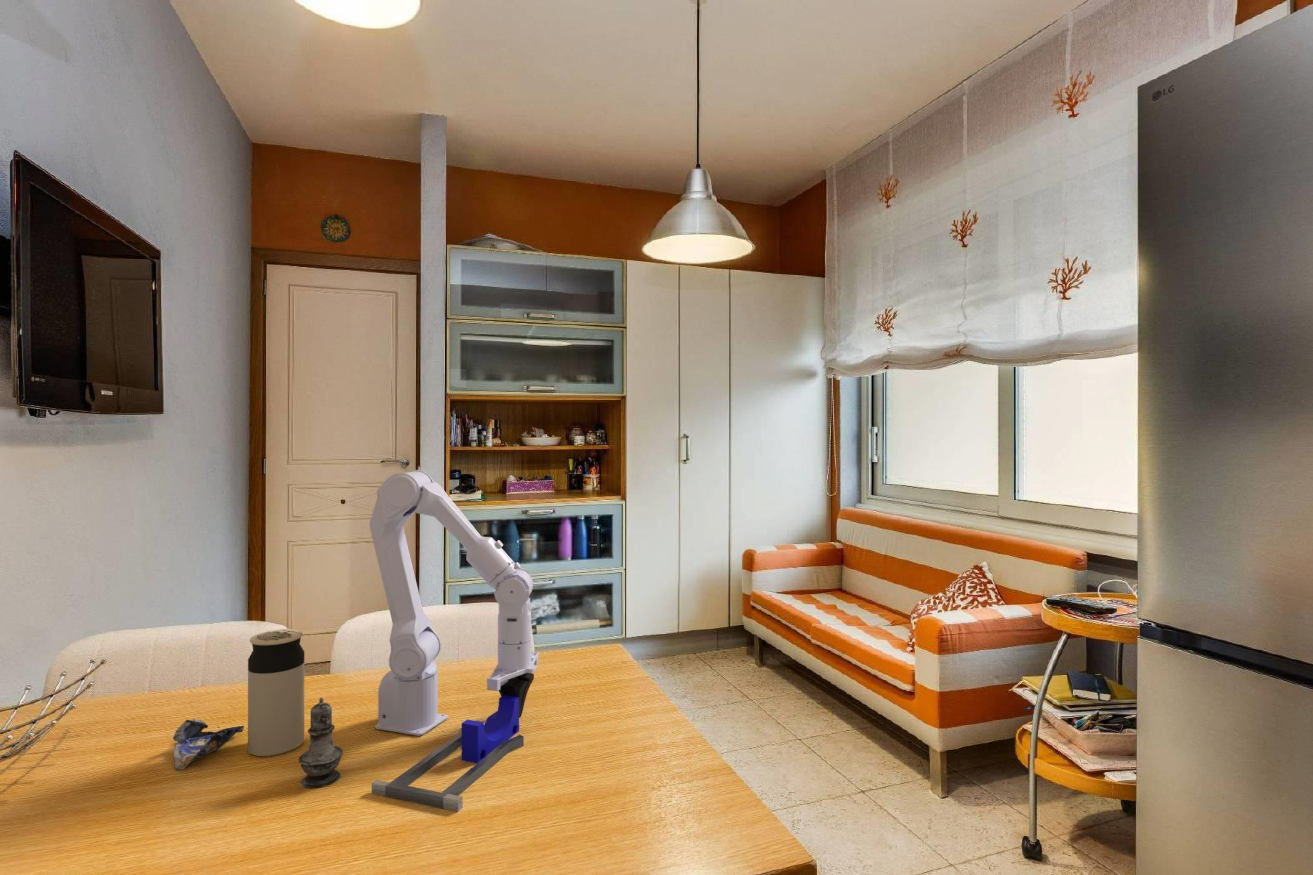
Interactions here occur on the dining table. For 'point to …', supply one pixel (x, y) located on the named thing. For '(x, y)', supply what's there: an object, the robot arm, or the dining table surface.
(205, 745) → the snack package
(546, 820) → the dining table surface
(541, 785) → the dining table surface
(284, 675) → the travel mug
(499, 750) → the rail
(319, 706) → the salt shaker
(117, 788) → the dining table surface
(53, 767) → the dining table surface
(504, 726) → the blue cradle block
